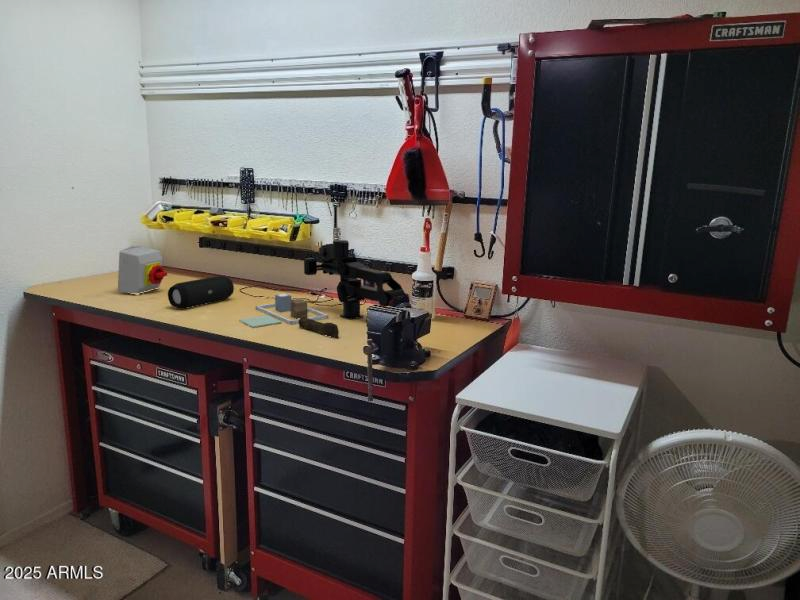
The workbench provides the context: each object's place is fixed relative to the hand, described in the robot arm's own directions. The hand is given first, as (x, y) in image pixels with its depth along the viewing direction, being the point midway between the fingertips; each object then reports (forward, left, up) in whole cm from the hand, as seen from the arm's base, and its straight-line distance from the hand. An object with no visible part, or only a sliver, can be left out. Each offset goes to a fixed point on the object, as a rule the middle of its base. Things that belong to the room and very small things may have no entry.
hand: (315, 262), depth 234 cm
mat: (-13, +31, -17) cm, 37 cm away
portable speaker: (+26, +37, -17) cm, 48 cm away
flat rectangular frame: (-8, +16, -17) cm, 24 cm away
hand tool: (-36, +20, -17) cm, 45 cm away
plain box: (-14, +16, -17) cm, 27 cm away
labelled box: (-2, +16, -17) cm, 23 cm away
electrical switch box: (+60, +49, -17) cm, 79 cm away
